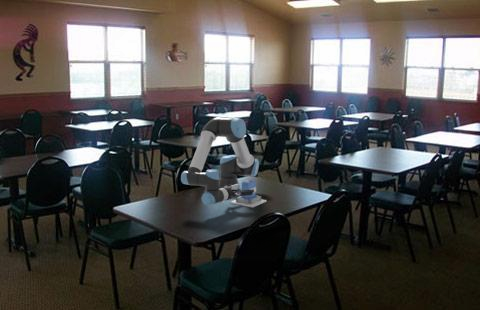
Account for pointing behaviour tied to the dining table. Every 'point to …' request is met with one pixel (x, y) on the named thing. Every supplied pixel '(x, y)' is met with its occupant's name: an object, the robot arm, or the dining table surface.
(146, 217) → the dining table surface
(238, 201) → the white square socket base
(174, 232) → the dining table surface
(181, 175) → the robot arm
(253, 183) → the blue drink carton
